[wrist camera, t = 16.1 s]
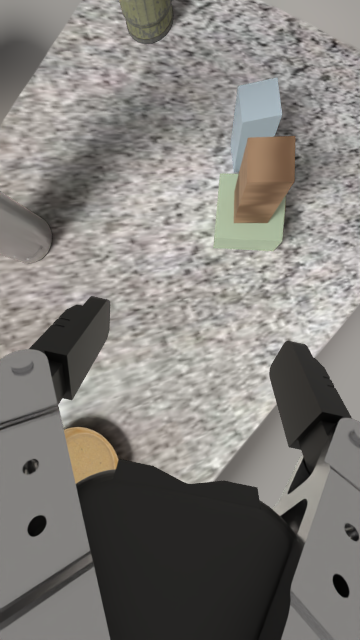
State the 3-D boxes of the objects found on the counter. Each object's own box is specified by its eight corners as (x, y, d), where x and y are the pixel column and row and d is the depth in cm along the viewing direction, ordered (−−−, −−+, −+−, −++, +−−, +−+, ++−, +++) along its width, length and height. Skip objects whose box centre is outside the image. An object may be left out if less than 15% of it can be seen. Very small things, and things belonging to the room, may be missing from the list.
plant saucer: (34, 447, 44) (23, 455, 41) (97, 405, 43) (90, 410, 40) (75, 519, 42) (66, 532, 40) (141, 478, 41) (137, 488, 39)
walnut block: (233, 223, 36) (246, 182, 26) (234, 190, 36) (247, 137, 26) (267, 223, 35) (294, 181, 25) (268, 190, 35) (295, 136, 25)
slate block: (233, 172, 41) (242, 122, 31) (230, 144, 41) (237, 86, 31) (263, 167, 40) (282, 114, 30) (260, 138, 40) (277, 77, 30)
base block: (213, 248, 41) (214, 238, 36) (218, 191, 41) (220, 173, 36) (274, 251, 40) (284, 241, 35) (279, 193, 40) (289, 174, 35)
